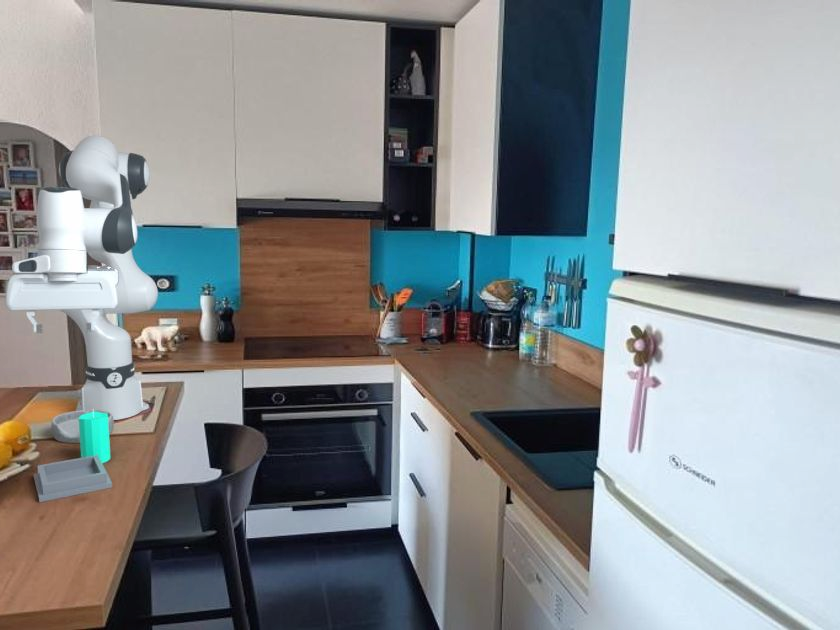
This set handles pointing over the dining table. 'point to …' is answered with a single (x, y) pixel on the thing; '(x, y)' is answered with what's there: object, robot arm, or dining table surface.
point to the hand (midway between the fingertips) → (64, 332)
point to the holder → (71, 478)
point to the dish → (73, 425)
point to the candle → (94, 435)
